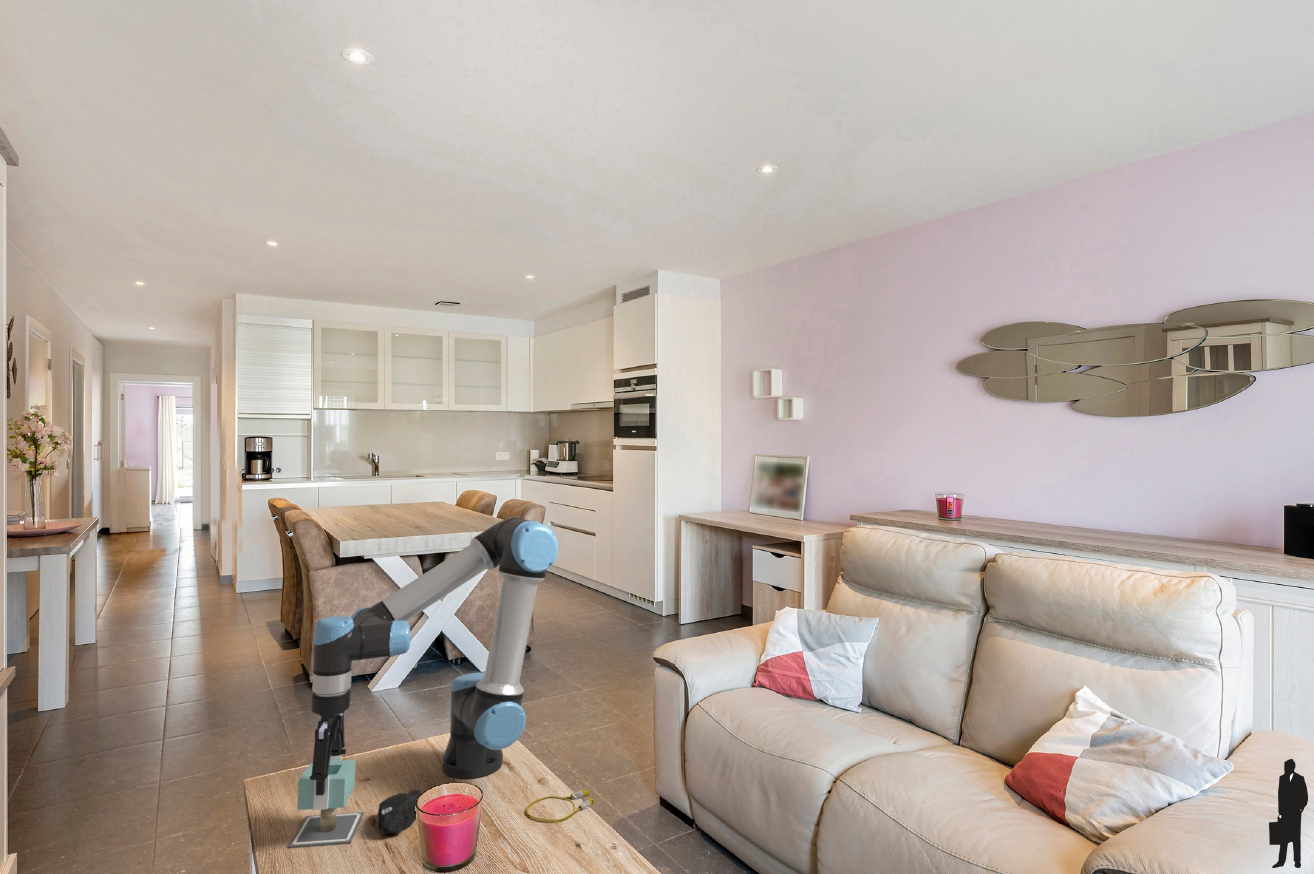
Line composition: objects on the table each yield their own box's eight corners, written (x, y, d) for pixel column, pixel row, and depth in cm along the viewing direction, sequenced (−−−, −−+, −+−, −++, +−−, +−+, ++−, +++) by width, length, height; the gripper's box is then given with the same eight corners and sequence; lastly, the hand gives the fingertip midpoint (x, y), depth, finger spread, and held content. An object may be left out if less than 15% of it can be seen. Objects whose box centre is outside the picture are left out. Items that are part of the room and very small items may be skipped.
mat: (364, 813, 158) (364, 811, 158) (350, 843, 146) (350, 841, 146) (306, 817, 156) (306, 815, 156) (288, 847, 144) (288, 845, 144)
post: (337, 824, 152) (338, 786, 153) (333, 831, 149) (334, 793, 150) (322, 825, 152) (323, 787, 152) (318, 832, 149) (319, 794, 149)
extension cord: (597, 822, 157) (597, 813, 157) (525, 827, 154) (525, 818, 154) (592, 795, 169) (593, 787, 169) (525, 799, 166) (526, 791, 166)
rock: (426, 830, 151) (427, 802, 152) (382, 841, 147) (383, 812, 147) (416, 809, 160) (417, 783, 160) (374, 819, 156) (375, 792, 156)
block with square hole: (310, 789, 154) (311, 761, 154) (354, 787, 156) (355, 759, 156) (297, 809, 145) (298, 780, 146) (343, 807, 147) (344, 778, 147)
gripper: (327, 675, 161) (323, 774, 161) (296, 710, 140) (291, 824, 139) (361, 674, 162) (358, 772, 162) (336, 708, 141) (332, 822, 141)
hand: (327, 796), depth 151 cm, fingers closed on block with square hole, 9 cm apart
